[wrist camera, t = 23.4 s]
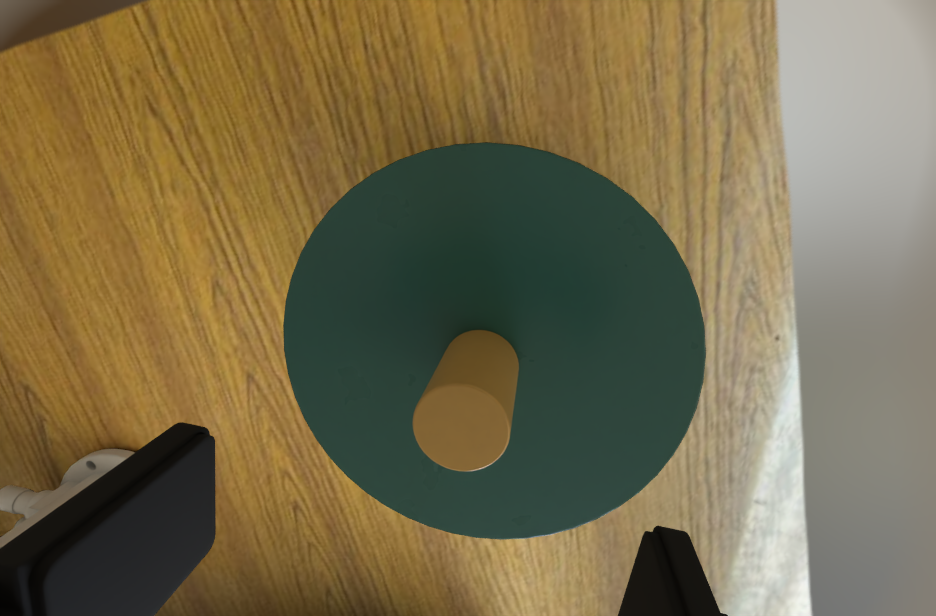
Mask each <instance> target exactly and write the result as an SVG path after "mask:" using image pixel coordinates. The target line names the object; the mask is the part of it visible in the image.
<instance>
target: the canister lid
mask: <svg viewBox="0 0 936 616" xmlns="http://www.w3.org/2000/svg"><path fill="white" fill-rule="evenodd" d="M283 326H284V351H285V357H286V363H287V369H288V375H289V378H290V382H291V385H292V388H293V392H294V395H295V398H296V400H297V403H298V405H299V407H300V409H301V412H302V414H303V416H304V419H305V420H306V422H307V424H308V426H309V427H310V429H311V431H312V433H313V434H314V436H315V438H316V439H317V441H318V442H319V443H320V445H321V446H322V447H323V449H324V450H325V452H326V453H327V454H328V456H329V457H330V458H331V459H332V460H333V462H334V463H335V464H336V465H337V466H338V467H339V468H340V469H341V470H342V471H343V472H344V473H345V474H346V475H347V476H348V477H349V478H350V479H351V480H352V481H353V482H355V483H356V484H357V485H358V486H359V487H360V488H361V489H363V490H364V491H365V492H366V493H368V494H369V495H371V496H372V497H374V498H375V499H376V500H378V501H379V502H381V503H382V504H384V505H385V506H387V507H389V508H391V509H393V510H394V511H396V512H398V513H400V514H402V515H404V516H405V517H407V518H410V519H412V520H415V521H417V522H420V523H422V524H424V525H427V526H429V527H433V528H436V529H440V530H443V531H446V532H450V533H454V534H459V535H465V536H470V537H476V538H488V539H525V538H532V537H539V536H545V535H551V534H555V533H559V532H562V531H566V530H570V529H573V528H576V527H579V526H581V525H583V524H586V523H588V522H591V521H593V520H596V519H598V518H600V517H602V516H603V515H605V514H607V513H609V512H611V511H613V510H614V509H616V508H618V507H620V506H621V505H622V504H624V503H625V502H626V501H628V500H629V499H631V498H632V497H633V496H635V495H636V494H637V493H639V492H640V491H641V490H642V489H643V488H644V487H645V486H646V485H647V484H648V483H649V482H650V481H651V480H652V479H653V478H655V477H656V476H657V475H658V473H659V472H660V471H661V470H662V468H663V467H664V466H665V465H666V463H667V462H668V461H669V460H670V458H671V457H672V456H673V455H674V453H675V451H676V450H677V448H678V446H679V444H680V443H681V441H682V439H683V438H684V436H685V434H686V433H687V430H688V428H689V425H690V423H691V421H692V418H693V416H694V413H695V411H696V408H697V405H698V401H699V397H700V393H701V389H702V385H703V379H704V369H705V358H706V347H705V330H704V322H703V317H702V313H701V308H700V303H699V298H698V295H697V293H696V290H695V287H694V285H693V282H692V279H691V276H690V274H689V271H688V269H687V267H686V265H685V264H684V262H683V260H682V258H681V256H680V254H679V253H678V251H677V249H676V247H675V245H674V244H673V242H672V241H671V240H670V238H669V237H668V236H667V234H666V233H665V232H664V230H663V229H662V228H661V226H660V225H659V224H658V222H657V221H656V220H655V219H654V218H653V217H652V216H651V215H650V214H649V213H648V212H647V211H646V210H645V209H644V208H643V207H642V206H641V205H640V204H639V203H638V202H637V201H636V200H635V199H634V198H633V197H632V196H630V195H629V194H628V193H626V192H625V191H624V190H622V189H621V188H620V187H618V186H617V185H616V184H614V183H613V182H612V181H610V180H609V179H608V178H606V177H604V176H602V175H600V174H598V173H597V172H595V171H593V170H591V169H589V168H587V167H585V166H584V165H582V164H580V163H578V162H575V161H572V160H570V159H567V158H564V157H562V156H559V155H556V154H554V153H551V152H547V151H543V150H538V149H534V148H530V147H525V146H521V145H512V144H500V143H488V142H486V143H469V144H455V145H450V146H445V147H440V148H435V149H430V150H425V151H423V152H420V153H417V154H414V155H411V156H408V157H406V158H403V159H400V160H398V161H396V162H394V163H392V164H390V165H388V166H386V167H384V168H382V169H380V170H378V171H376V172H374V173H373V174H371V175H370V176H368V177H367V178H366V179H364V180H363V181H362V182H360V183H359V184H357V185H356V186H355V187H353V188H352V189H350V190H349V191H348V192H347V193H346V194H345V195H344V196H343V197H342V198H341V199H340V200H339V201H338V202H337V203H336V204H335V205H334V206H333V207H332V208H331V209H330V210H329V211H328V212H327V214H326V215H325V216H324V218H323V219H322V220H321V221H320V223H319V224H318V225H317V227H316V228H315V229H314V231H313V233H312V234H311V236H310V238H309V240H308V241H307V243H306V245H305V247H304V248H303V250H302V252H301V254H300V257H299V259H298V262H297V264H296V267H295V269H294V272H293V275H292V278H291V282H290V286H289V290H288V294H287V298H286V305H285V315H284V325H283Z"/></svg>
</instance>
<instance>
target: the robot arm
mask: <svg viewBox="0 0 936 616" xmlns="http://www.w3.org/2000/svg"><path fill="white" fill-rule="evenodd" d="M0 510H2V511H6V512H10V513H14V514H24V517H22V518H21V519H20V520H18V521H17V523H16V524H15V526H14V528H13V529H12V530H10V531H9V532H7V533H6V534H4V535H3V536H1V537H0V616H154V615H155V614H156V613H157V612H158V610H159V609H160V608H161V607H162V606H163V605H164V603H165V602H166V601H167V600H168V599H169V598H170V596H171V595H172V594H173V593H174V592H175V591H176V589H177V588H178V587H179V586H180V585H181V584H182V582H183V581H184V580H185V579H186V578H187V577H188V575H189V574H190V573H191V572H192V571H193V570H194V568H195V567H196V566H197V565H198V564H199V563H200V561H201V560H202V559H203V558H204V557H205V556H206V554H207V553H208V552H209V550H210V549H211V547H212V545H213V542H214V539H215V439H214V437H213V436H210V434H209V431H208V429H207V428H205V427H201V426H197V425H192V424H187V423H183V422H182V423H177V424H175V425H173V426H172V427H171V428H169V429H168V430H166V431H165V432H164V433H162V434H161V435H159V436H158V437H157V438H155V439H154V440H152V441H151V442H149V443H148V444H147V445H145V446H144V447H142V448H141V449H140V450H138V451H137V452H132V451H129V450H122V449H102V450H99V451H95V452H92V453H90V454H88V455H87V456H85V457H83V458H81V459H80V460H78V461H77V462H76V463H74V464H73V465H72V466H70V468H69V469H68V470H67V472H66V473H65V474H64V477H63V479H62V482H61V484H60V487H59V488H57V489H56V490H54V491H52V490H43V491H41V492H39V493H37V492H34V491H33V490H31V489H27V488H23V487H19V486H15V485H8V486H5V487H3V488H2V489H0ZM618 616H728V615H727V614H723V613H720V611H719V608H718V606H717V603H716V601H715V598H714V596H713V593H712V591H711V589H710V586H709V584H708V581H707V579H706V576H705V574H704V571H703V569H702V566H701V564H700V561H699V559H698V557H697V554H696V552H695V549H694V547H693V544H692V542H691V539H690V537H689V535H688V533H686V532H684V531H680V530H675V529H671V528H666V527H661V526H656V527H655V528H654V530H653V532H649V531H645V533H644V534H643V537H642V540H641V543H640V547H639V550H638V553H637V556H636V559H635V563H634V566H633V569H632V572H631V575H630V579H629V582H628V585H627V588H626V591H625V595H624V598H623V601H622V604H621V607H620V611H619V614H618Z"/></svg>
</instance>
